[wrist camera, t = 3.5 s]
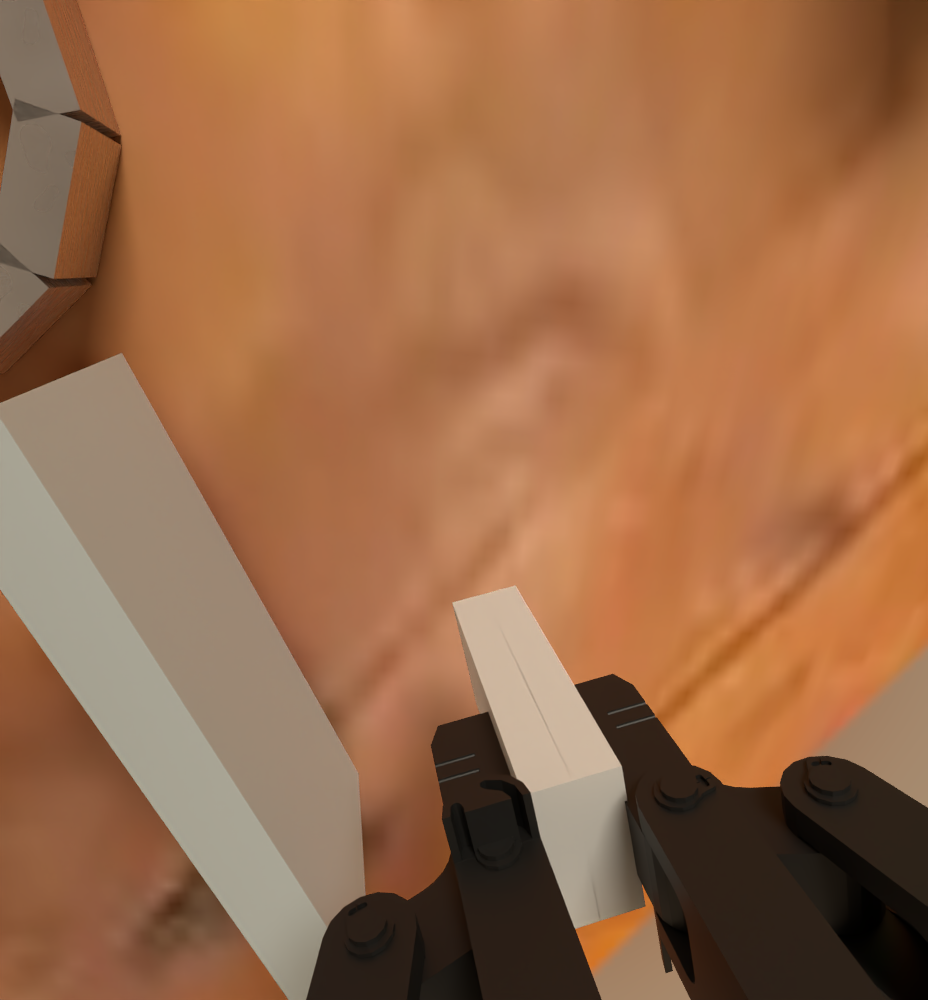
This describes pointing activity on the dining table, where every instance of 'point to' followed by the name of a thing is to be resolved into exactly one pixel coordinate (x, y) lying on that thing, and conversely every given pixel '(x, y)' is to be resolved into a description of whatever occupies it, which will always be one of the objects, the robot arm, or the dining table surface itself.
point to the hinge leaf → (177, 659)
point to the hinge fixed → (50, 168)
